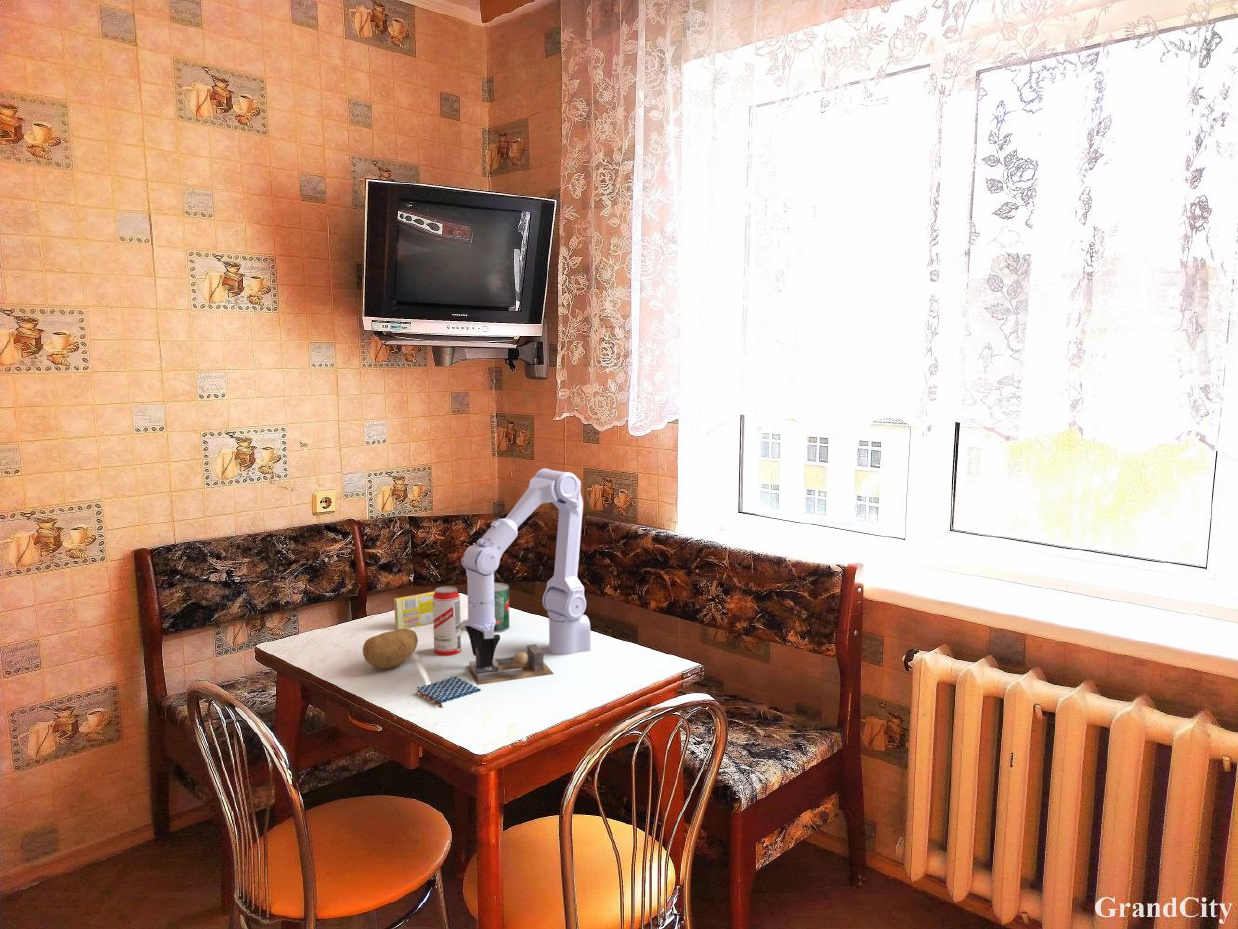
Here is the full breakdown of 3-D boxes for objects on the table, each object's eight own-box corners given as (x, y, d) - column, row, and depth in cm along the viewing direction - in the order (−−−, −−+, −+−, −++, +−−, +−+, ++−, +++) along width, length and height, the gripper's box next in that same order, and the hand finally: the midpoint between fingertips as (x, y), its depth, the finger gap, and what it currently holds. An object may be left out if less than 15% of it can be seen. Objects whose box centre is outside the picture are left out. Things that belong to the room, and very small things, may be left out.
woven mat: (456, 682, 186) (456, 674, 185) (483, 697, 178) (483, 688, 178) (413, 695, 179) (413, 686, 178) (440, 711, 171) (439, 701, 171)
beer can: (455, 660, 198) (453, 593, 196) (429, 658, 199) (427, 592, 197) (465, 651, 204) (463, 586, 202) (440, 649, 205) (438, 585, 203)
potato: (430, 660, 198) (429, 627, 197) (382, 679, 186) (381, 644, 185) (401, 652, 203) (400, 620, 202) (353, 670, 192) (351, 636, 190)
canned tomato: (515, 627, 222) (515, 586, 220) (492, 634, 216) (491, 592, 215) (495, 621, 227) (495, 580, 226) (472, 628, 221) (471, 587, 220)
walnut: (526, 664, 193) (526, 648, 192) (531, 669, 189) (530, 654, 189) (511, 666, 191) (510, 651, 191) (515, 672, 188) (515, 656, 188)
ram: (492, 666, 191) (492, 641, 190) (499, 675, 185) (498, 649, 185) (470, 669, 189) (470, 643, 188) (476, 678, 184) (475, 652, 183)
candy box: (452, 617, 230) (451, 587, 229) (455, 619, 229) (455, 589, 228) (394, 628, 221) (393, 597, 220) (397, 631, 219) (396, 599, 218)
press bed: (538, 660, 198) (538, 639, 197) (554, 678, 187) (553, 656, 186) (465, 670, 192) (465, 648, 191) (477, 689, 181) (476, 666, 180)
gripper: (456, 593, 190) (457, 652, 192) (469, 611, 177) (471, 674, 179) (487, 590, 193) (488, 648, 195) (503, 607, 179) (504, 670, 181)
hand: (482, 660), depth 187 cm, fingers open, 7 cm apart
